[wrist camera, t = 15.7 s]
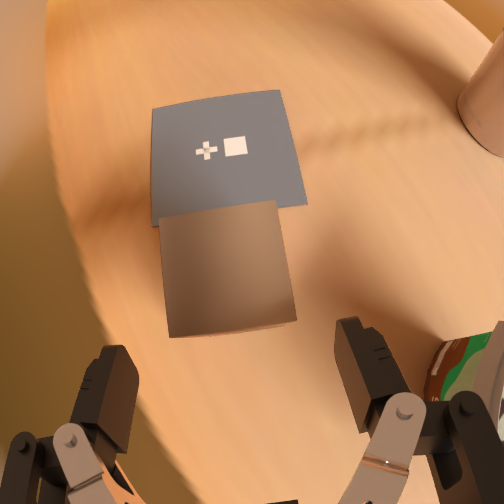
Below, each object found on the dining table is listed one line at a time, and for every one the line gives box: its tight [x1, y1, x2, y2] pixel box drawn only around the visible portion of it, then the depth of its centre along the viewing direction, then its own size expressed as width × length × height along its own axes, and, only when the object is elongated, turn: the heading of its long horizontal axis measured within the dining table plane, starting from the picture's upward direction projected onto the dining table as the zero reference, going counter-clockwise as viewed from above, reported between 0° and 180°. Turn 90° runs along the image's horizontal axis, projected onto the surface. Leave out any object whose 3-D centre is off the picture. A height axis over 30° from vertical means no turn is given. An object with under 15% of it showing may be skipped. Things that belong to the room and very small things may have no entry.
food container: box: [424, 321, 504, 446], centre depth 14 cm, size 12×6×10 cm, turn 39°
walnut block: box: [159, 200, 297, 338], centre depth 17 cm, size 5×5×10 cm
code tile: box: [151, 90, 308, 227], centre depth 25 cm, size 12×12×1 cm
